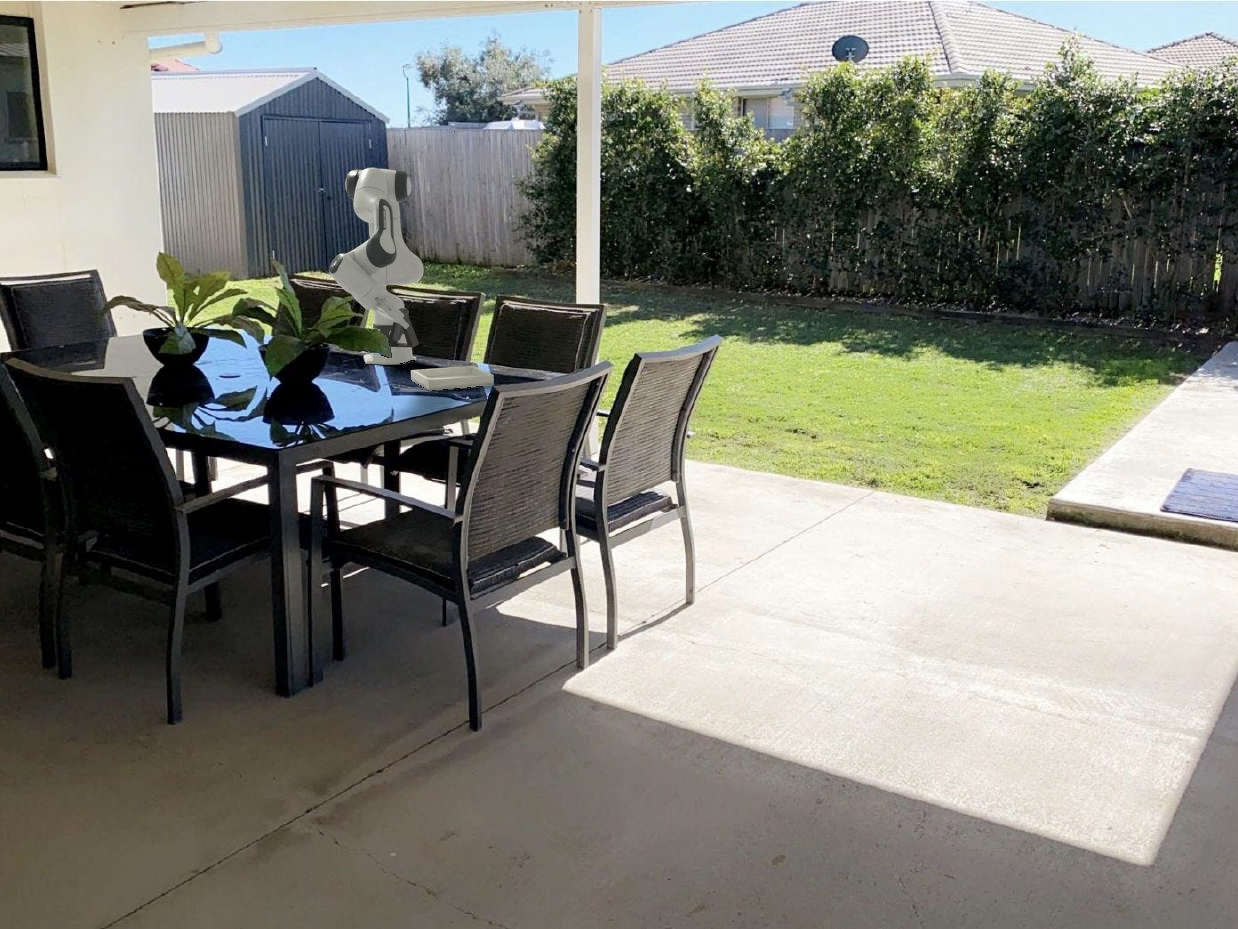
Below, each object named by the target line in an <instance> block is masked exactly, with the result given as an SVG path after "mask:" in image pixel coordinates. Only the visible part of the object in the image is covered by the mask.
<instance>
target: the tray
mask: <svg viewBox="0 0 1238 929" xmlns="http://www.w3.org/2000/svg"><path fill="white" fill-rule="evenodd" d="M410 379H411V380H412V381H411V382H412V383H414V382H415V384H417V385H418V384H419V385H418V386H420V385H421V386H422V387H421V386H420V387H421V388H423V387H424V388H423V389H425V390H426V389H427V391H428V390H429V391H428V392H431V391H432V390H436V391H444V390H443V389H448V390H455V389H454V388H460V389H468V388H467V387H471V388H477V387H476V386H483V387H492V386H493V385H495V384H494V383H495V382H494V380H495V378H494V374H492V373H490V372H488V371H486V370H483V369H481V368H479V367H477V366H475V365H466V366H449V367H438V368H436V367H435V368H426V369H425V368H424V369H411V370H410ZM493 387H494V386H493ZM432 392H433V391H432Z"/></svg>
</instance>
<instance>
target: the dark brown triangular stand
mask: <svg viewBox="0 0 1238 929" xmlns="http://www.w3.org/2000/svg"><path fill="white" fill-rule="evenodd" d="M399 310H400V311H401V312H402V313H403V314H404V317H403V319H404V320H405V321H406V322H407V323H408V324H409V327H408V328H407V329H405V328H403V327H402V328H403V331H404V335H405V338H406V342H407V343H398V339H399V335H400V330H401V325H400V324H399V323H396V322H393V325H392V329H391V332H390V335H389V339H388V343H389V346H390V347H409V348H412V349H413V348H414V347H416V346H418V345H419V344H420V342H419V339H418V338H417V335H416V333H415V329H414V327H413V324H412V322H411V319H410V315H409V312H410V311H409V309H408V308H407V307H404V308H401V309H399Z"/></svg>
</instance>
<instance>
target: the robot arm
mask: <svg viewBox="0 0 1238 929" xmlns="http://www.w3.org/2000/svg"><path fill="white" fill-rule="evenodd" d="M344 186H345V191H346V194H347V196H348V197H349V199H350V200H352V201H353V203H352V204H353V211H354V213H355V214H356V216H357V217H358V218H359V219H360V220H362V221H364V222H365V223H368V234H369V235H368V236H369V238H368V239H367V240H366V241H364V242H363V243H361V244H360V245H359V246H357V247H356V248H353V249H352V250H350V251H349V252H346V253H339V254H338V255H336V256H335V258H333V260H332V261H331V262H330V264H329V270H328V272H329V274H330V275H331V277H332V278H333V280H334V281H335V282H336V283H337V284H338V285H339V286H340V288H342V289H343V290H344V291H345V292H346V293H348V294H351V296H352V297H353V298H354V300H355V301H356V302H357V303H359V304H360V305H361V306H362V307H363V308H364V309H365V310H366V311H371V310H372V311H373V312H372V313H373V323H372V330H373V329H377V330H378V331H380V332H381V333H383V334H384V335H385V336H386V337H387V338H388V339H389V335H390V332H391V329H392V325H393V322H396V323H399V324H400V325H401V330H400V335H399V339H398V343H407V342H406V338H405V335H404V331H403V328H405V329H407V328H408V327H409V324H408V323H407V322H406V321H405V320H404V319H403V317H404V314H403V313H402V312H401V311H400V310H399V309H401V308H405V302H404V301H403V300H402V299H401V298H400V297H399V296H397V295H396V294H393V293H391V292H389V291H388V290H387V288H386V286H395V285H396V286H407V285H412V284H416V283H419V282H420V281H421V280H422V278H423V276H424V271H425V270H424V263H423V262H422V260H421V258H420V257H418V256H417V255H416V254H414V253H413V252H412V251H411V250H410V249H409V248H408V246H407V245H406V243H405V241H404V238H403V234H402V226H401V210H400V203H402V202H404V201H406V200H407V199H408V198H409V197H410V194H411V193H412V192H411V191H412V181H411V178H410V176H409V174H408V173H407V172H406V171H404V170H400V169H395V170H394V169H388V168H377V167H367V168H365V169H353V170H350V171H349V172H348V173H347V174H346V178H345V185H344ZM402 327H403V328H402ZM391 352H392V358H387V357H384V356H381V355H380V354H377V353H367V354H364V355H363V360H364V362H365V364H366V365H367V364H368V365H370V364H371V365H385V366H387V365H401V364H400V363H403V364H407V363H406V362H408V361H410V360H415V361H417V360H416V359H417V357H416V356H413V348H409V347H391ZM404 362H405V363H404ZM408 363H409V362H408Z"/></svg>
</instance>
